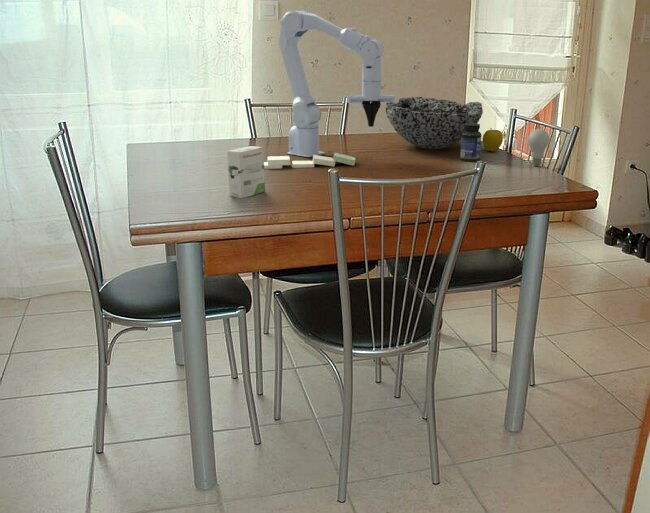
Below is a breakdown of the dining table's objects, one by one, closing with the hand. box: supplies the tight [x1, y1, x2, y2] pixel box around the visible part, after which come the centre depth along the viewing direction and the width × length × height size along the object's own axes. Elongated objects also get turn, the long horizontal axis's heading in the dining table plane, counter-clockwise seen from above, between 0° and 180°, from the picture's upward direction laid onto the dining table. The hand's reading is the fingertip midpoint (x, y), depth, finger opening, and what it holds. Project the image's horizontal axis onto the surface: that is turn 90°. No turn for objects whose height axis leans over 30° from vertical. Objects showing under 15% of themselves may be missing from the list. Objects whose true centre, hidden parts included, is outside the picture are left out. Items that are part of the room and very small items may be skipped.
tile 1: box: [264, 161, 283, 170], centre depth 217 cm, size 2×5×6 cm
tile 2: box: [267, 155, 291, 166], centre depth 216 cm, size 2×5×6 cm
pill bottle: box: [459, 123, 483, 163], centre depth 223 cm, size 6×6×11 cm
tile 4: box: [312, 155, 336, 168], centre depth 218 cm, size 2×5×6 cm
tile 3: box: [291, 160, 315, 169], centre depth 218 cm, size 2×5×6 cm
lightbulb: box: [527, 128, 551, 167], centre depth 213 cm, size 6×6×11 cm
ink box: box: [226, 145, 266, 199], centre depth 184 cm, size 9×5×12 cm, turn 140°
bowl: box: [385, 96, 484, 150], centre depth 241 cm, size 31×31×15 cm
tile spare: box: [332, 152, 356, 167], centre depth 219 cm, size 2×5×6 cm
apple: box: [481, 127, 504, 152], centre depth 235 cm, size 6×6×8 cm
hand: (370, 126), depth 223 cm, fingers closed
